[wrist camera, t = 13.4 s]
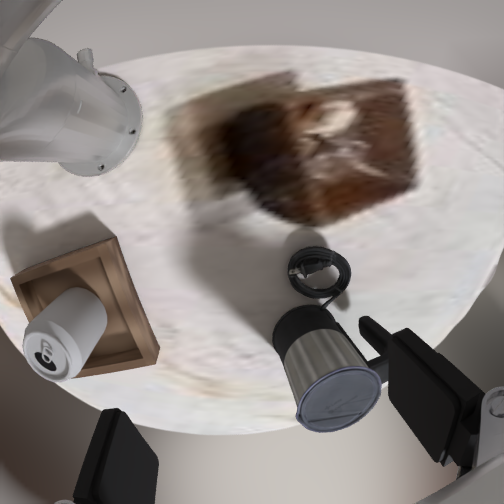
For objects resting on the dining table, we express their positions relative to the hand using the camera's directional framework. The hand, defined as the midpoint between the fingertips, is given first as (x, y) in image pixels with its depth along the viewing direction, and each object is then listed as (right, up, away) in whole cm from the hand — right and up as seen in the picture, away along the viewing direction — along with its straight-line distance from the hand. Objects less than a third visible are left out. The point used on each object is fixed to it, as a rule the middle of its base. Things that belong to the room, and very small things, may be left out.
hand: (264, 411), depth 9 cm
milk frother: (+7, -2, +31) cm, 32 cm away
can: (-22, -3, +26) cm, 35 cm away
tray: (-22, -3, +27) cm, 35 cm away
